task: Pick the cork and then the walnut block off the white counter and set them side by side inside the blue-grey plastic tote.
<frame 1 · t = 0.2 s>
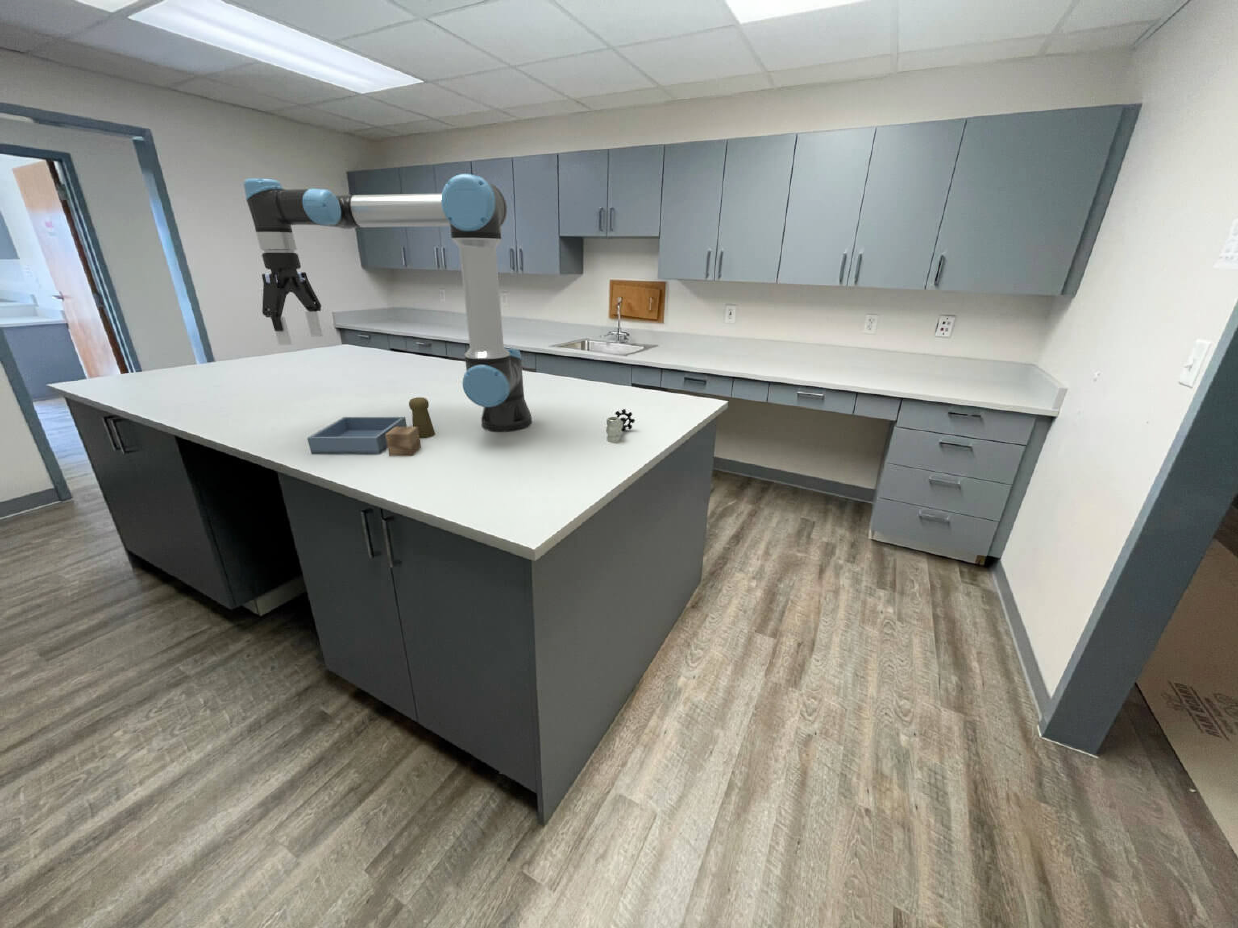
hand: (301, 340, 128), 28 cm above the table, fingers open, 13 cm apart
cork: (424, 435, 141), on the table
tote: (362, 442, 136), on the table
walnut block: (405, 451, 129), on the table
valve: (618, 437, 140), on the table
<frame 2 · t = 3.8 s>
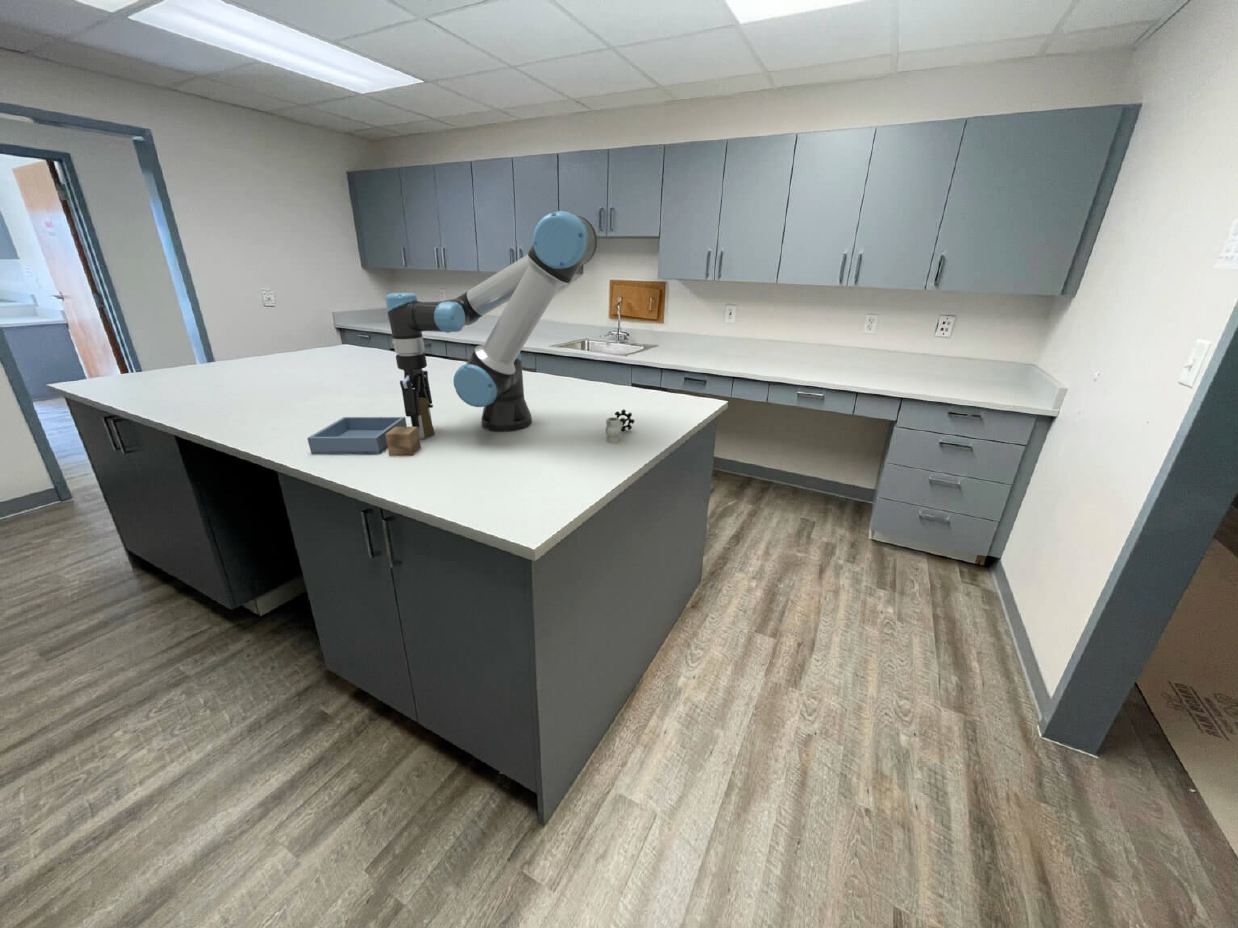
hand: (423, 433, 141), 0 cm above the table, fingers closed on cork, 6 cm apart
cork: (424, 435, 141), on the table, touching gripper
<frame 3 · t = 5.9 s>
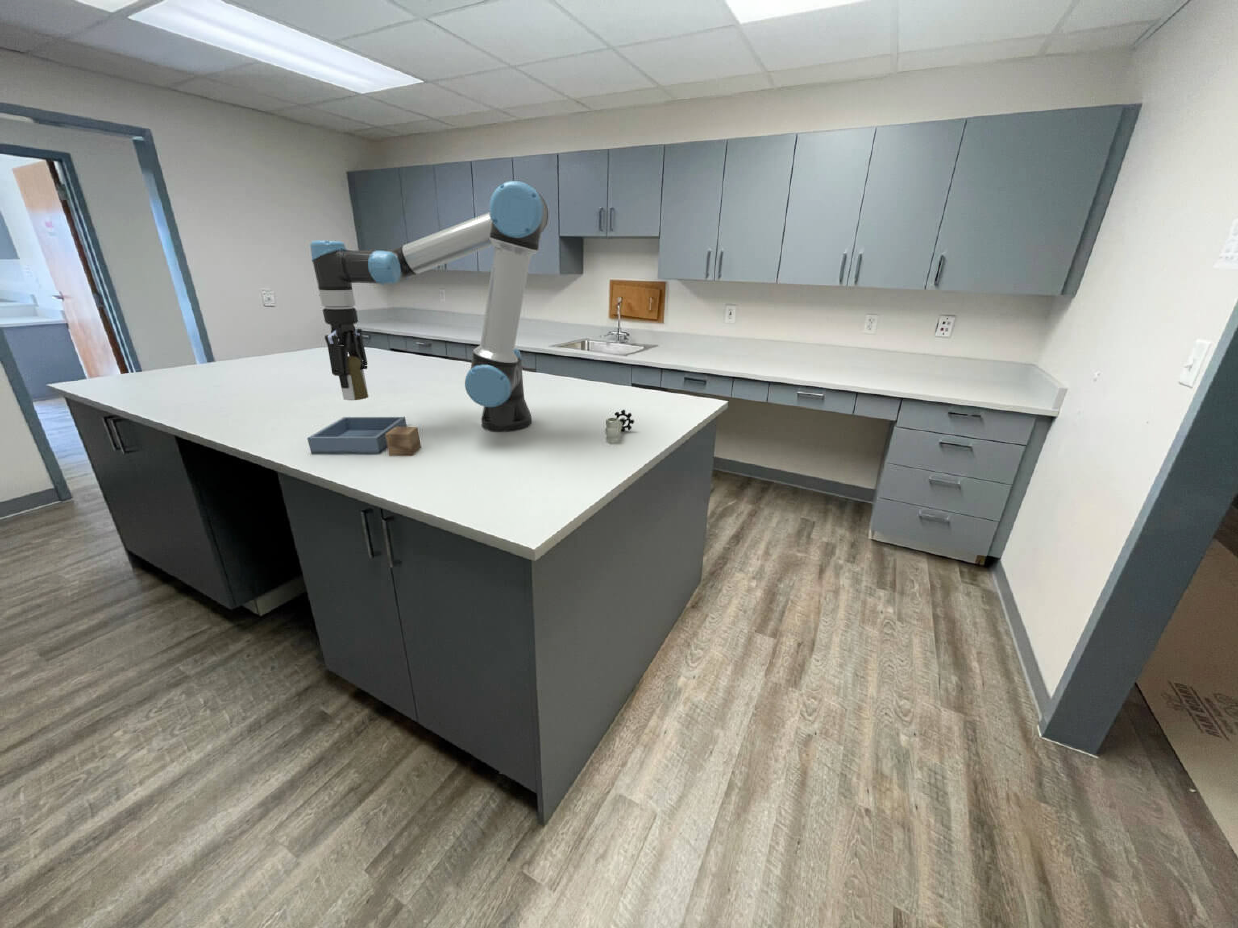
hand: (356, 396, 132), 13 cm above the table, fingers closed on cork, 6 cm apart
cork: (356, 398, 132), point 12 cm above the table, touching gripper
when the fingers open (3 cm above the table, at t = 8.2 s): cork drops 2 cm, resting on tote.
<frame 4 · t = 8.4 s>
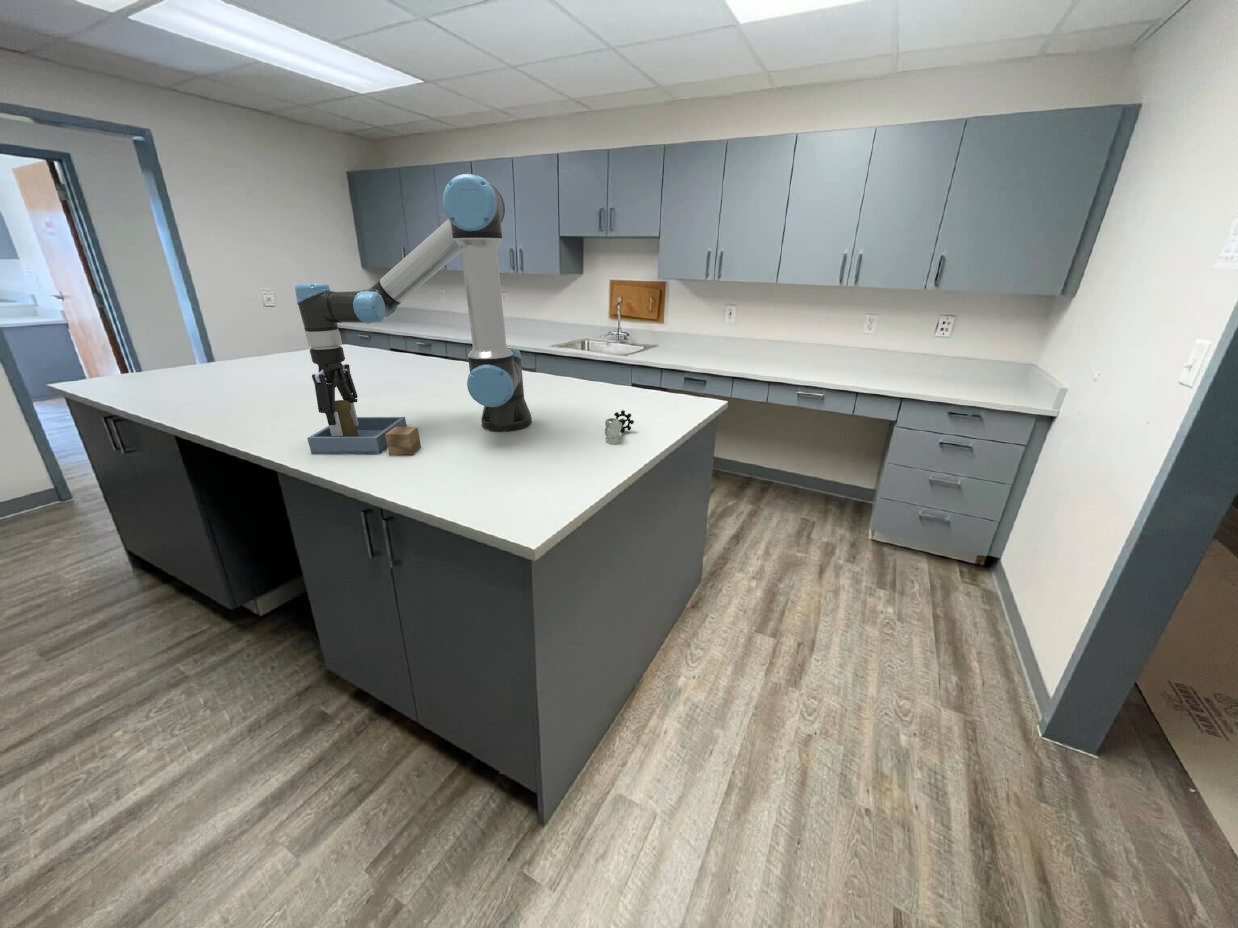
hand: (345, 430, 134), 3 cm above the table, fingers open, 8 cm apart
cork: (347, 440, 135), point 1 cm above the table, touching tote
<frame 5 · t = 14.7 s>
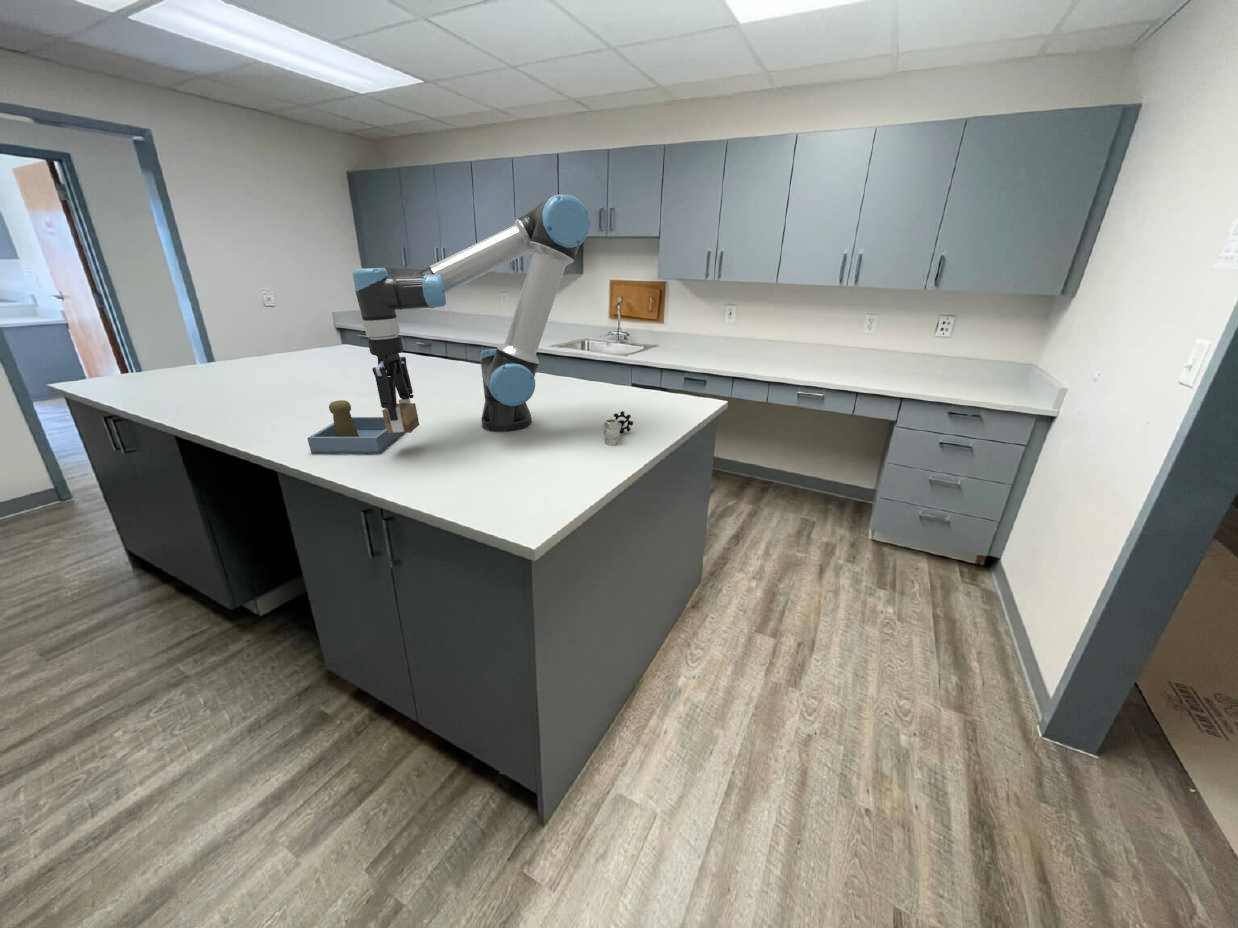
hand: (404, 427, 127), 7 cm above the table, fingers closed on walnut block, 6 cm apart
walnut block: (403, 428, 127), point 6 cm above the table, touching gripper
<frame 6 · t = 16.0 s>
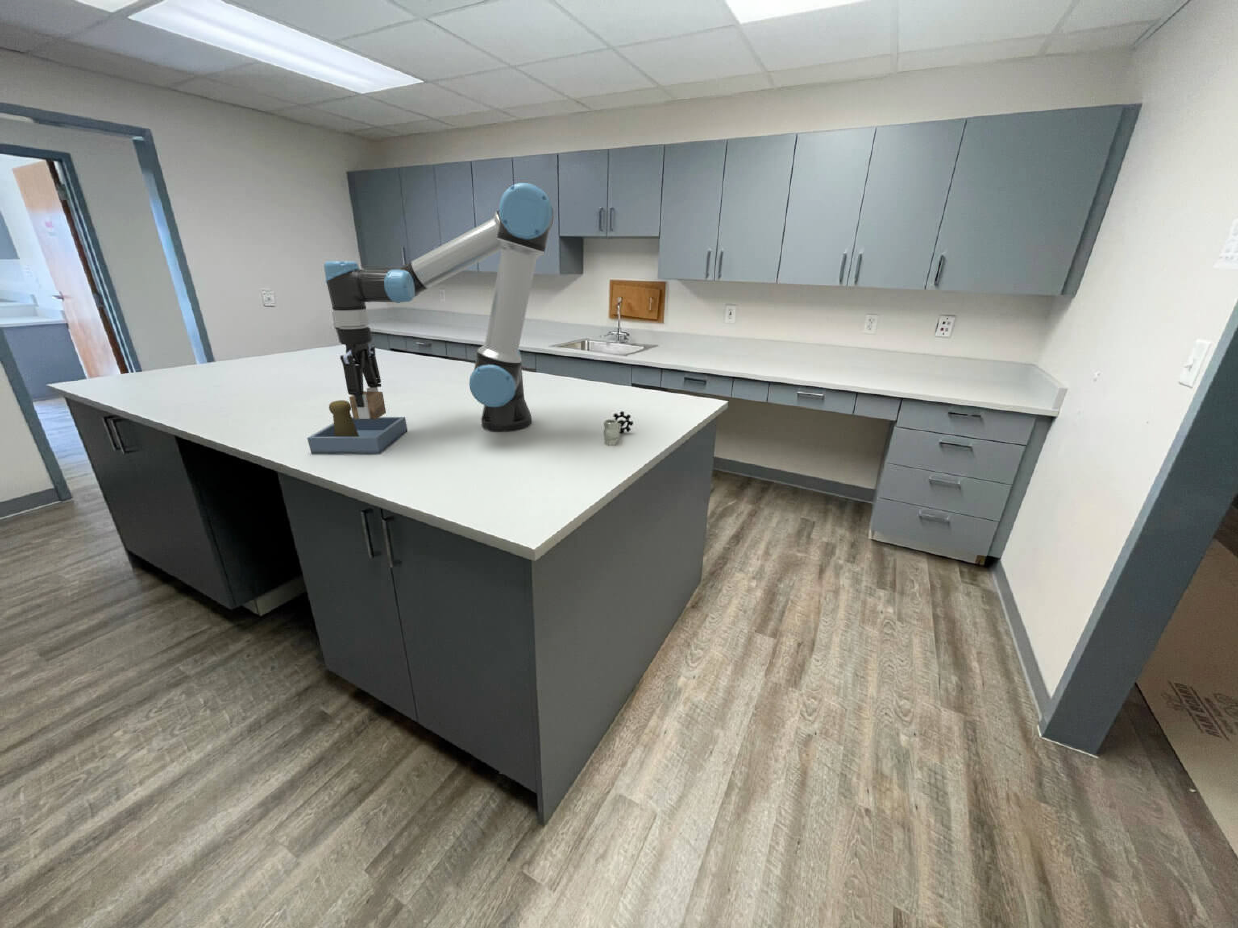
hand: (370, 414, 132), 8 cm above the table, fingers closed on walnut block, 6 cm apart
walnut block: (370, 415, 132), point 8 cm above the table, touching gripper
when the fingers open (1 cm above the table, at t = 17.7 s): walnut block stays where it is, resting on tote.
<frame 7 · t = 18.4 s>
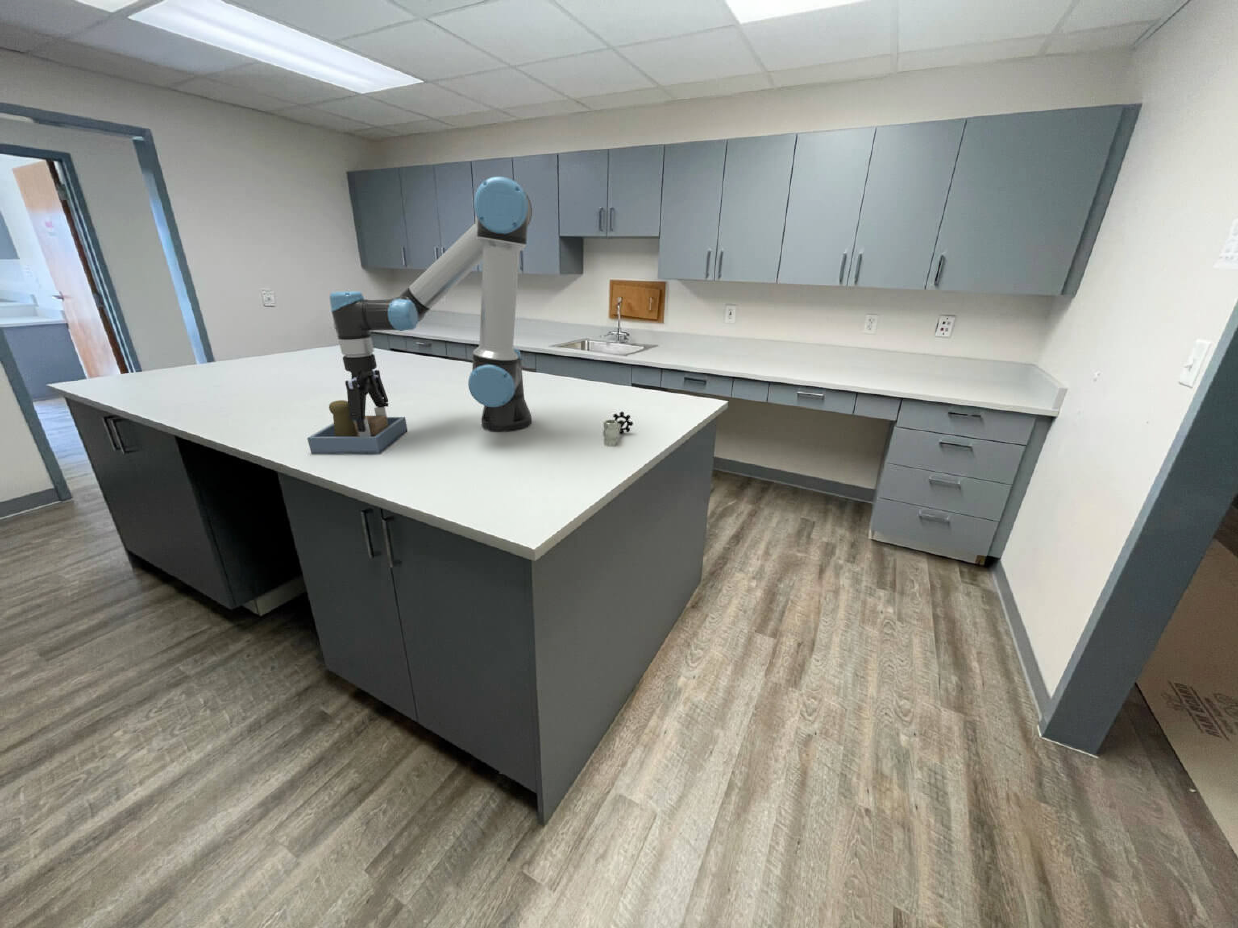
hand: (375, 435, 135), 2 cm above the table, fingers open, 10 cm apart
walnut block: (375, 439, 135), point 1 cm above the table, touching tote
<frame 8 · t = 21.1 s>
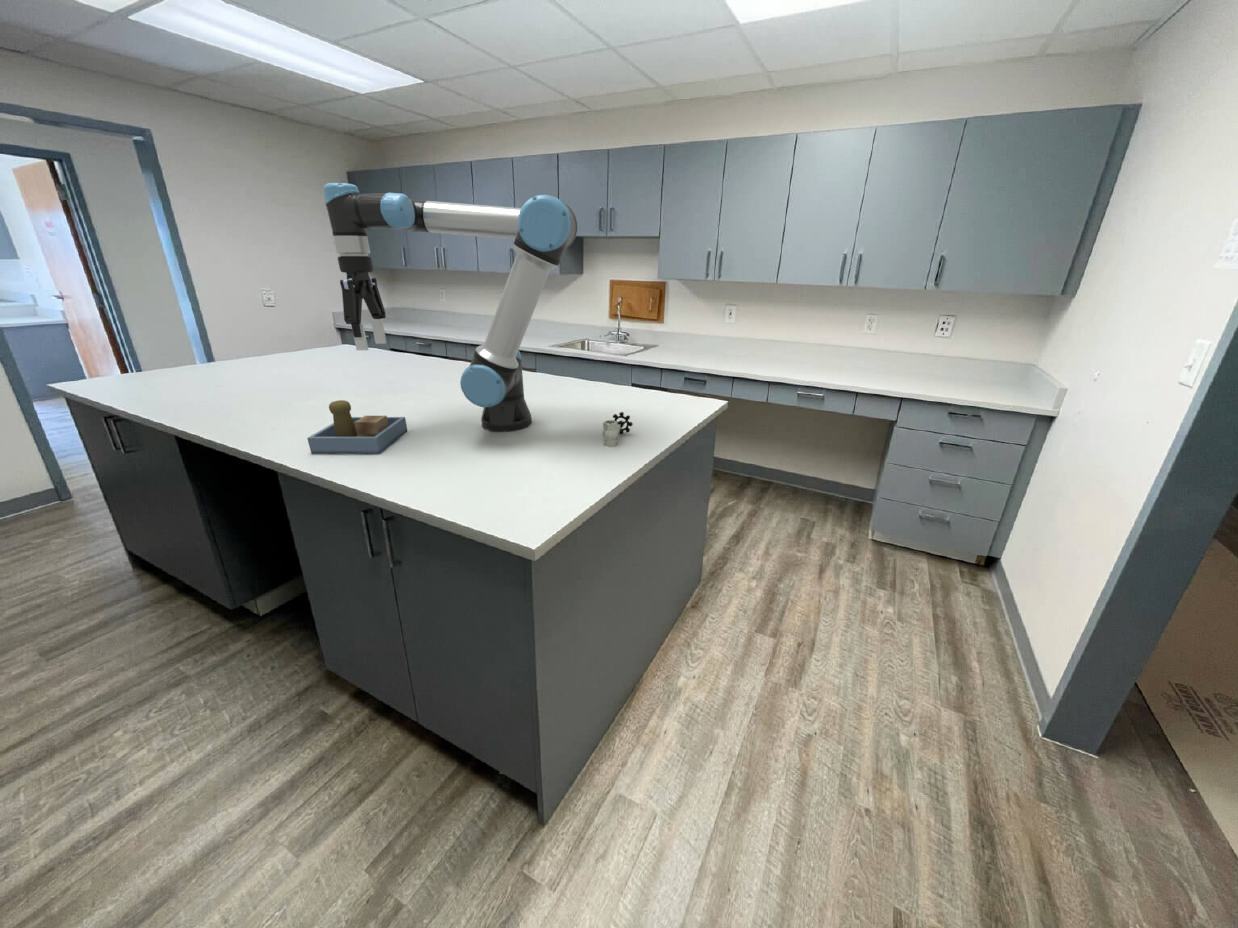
hand: (372, 346, 129), 26 cm above the table, fingers open, 10 cm apart
at the end: cork inside the target area on the tote (4.0 cm from its centre), point 0.6 cm above the tote's base; walnut block inside the target area on the tote (3.7 cm from its centre), point 0.8 cm above the tote's base; cork tilted 0° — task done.
